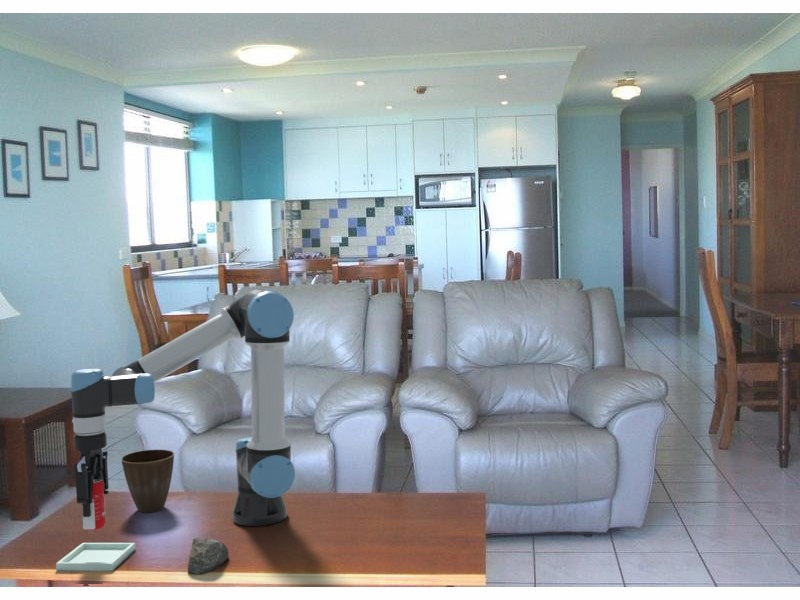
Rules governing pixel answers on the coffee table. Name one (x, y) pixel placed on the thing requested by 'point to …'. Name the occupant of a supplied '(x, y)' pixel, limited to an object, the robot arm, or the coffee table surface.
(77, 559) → the tray
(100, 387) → the robot arm
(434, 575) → the coffee table surface
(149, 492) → the plant pot
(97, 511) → the beverage can
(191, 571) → the rock
